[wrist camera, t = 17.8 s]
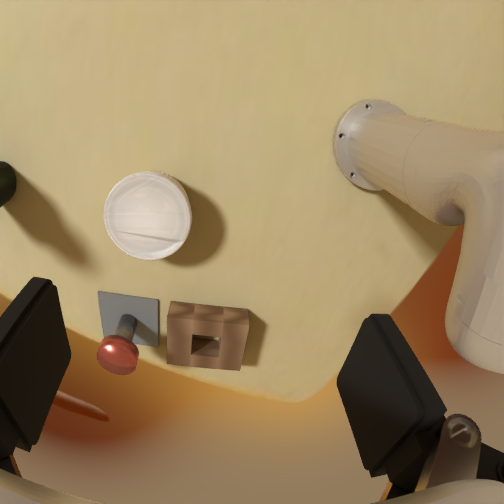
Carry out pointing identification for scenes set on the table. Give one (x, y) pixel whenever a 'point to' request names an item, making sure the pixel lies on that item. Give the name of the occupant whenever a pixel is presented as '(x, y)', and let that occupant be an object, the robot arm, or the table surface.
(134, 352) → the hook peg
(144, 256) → the ramekin
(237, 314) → the eye block
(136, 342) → the slate mat
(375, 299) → the table surface
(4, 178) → the potion bottle
